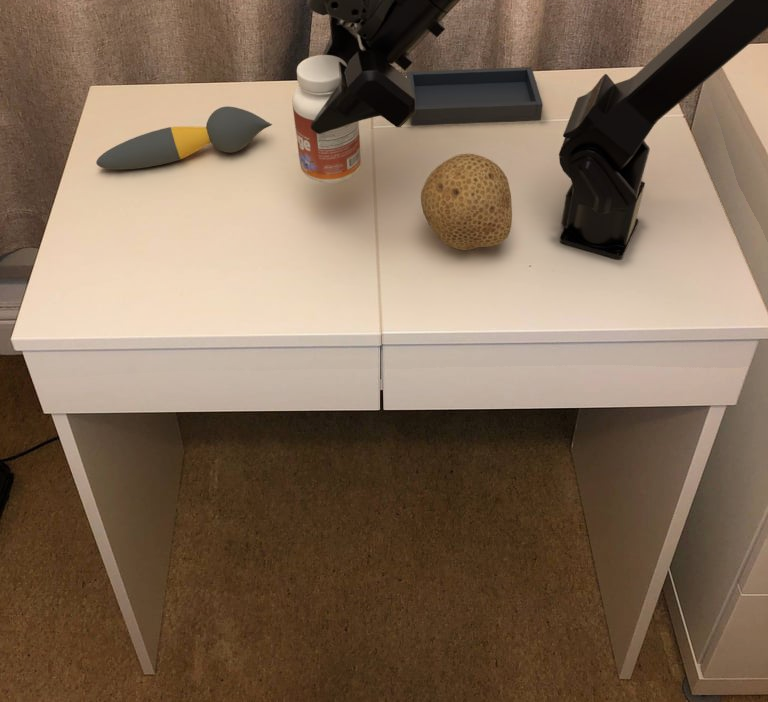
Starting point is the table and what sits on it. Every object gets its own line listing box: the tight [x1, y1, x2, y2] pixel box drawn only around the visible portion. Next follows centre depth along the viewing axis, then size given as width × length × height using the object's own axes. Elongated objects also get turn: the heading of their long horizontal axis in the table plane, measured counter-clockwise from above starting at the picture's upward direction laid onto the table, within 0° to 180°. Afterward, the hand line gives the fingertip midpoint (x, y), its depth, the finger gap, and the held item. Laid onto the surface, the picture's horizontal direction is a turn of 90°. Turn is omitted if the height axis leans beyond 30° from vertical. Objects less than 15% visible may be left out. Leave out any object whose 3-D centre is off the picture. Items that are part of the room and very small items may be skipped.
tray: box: [406, 66, 544, 126], centre depth 105 cm, size 15×8×2 cm, turn 92°
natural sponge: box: [420, 153, 513, 251], centre depth 85 cm, size 9×9×10 cm
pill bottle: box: [292, 54, 362, 184], centre depth 84 cm, size 6×6×11 cm
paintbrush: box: [95, 105, 273, 170], centre depth 97 cm, size 20×5×5 cm, turn 111°
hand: (311, 111), depth 83 cm, fingers closed on pill bottle, 6 cm apart
